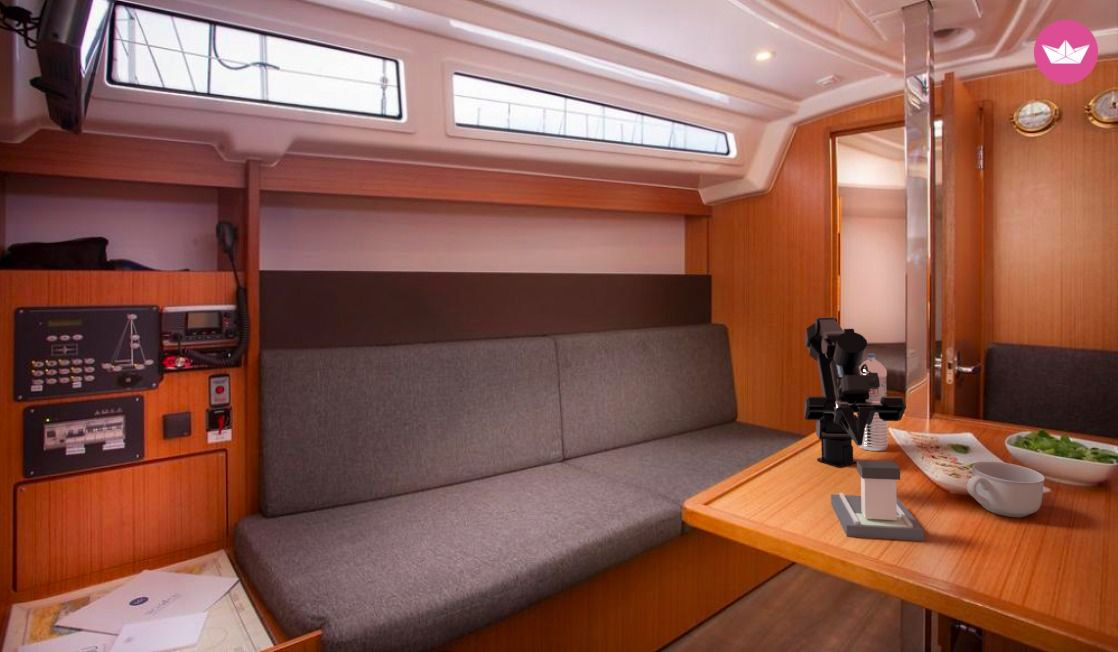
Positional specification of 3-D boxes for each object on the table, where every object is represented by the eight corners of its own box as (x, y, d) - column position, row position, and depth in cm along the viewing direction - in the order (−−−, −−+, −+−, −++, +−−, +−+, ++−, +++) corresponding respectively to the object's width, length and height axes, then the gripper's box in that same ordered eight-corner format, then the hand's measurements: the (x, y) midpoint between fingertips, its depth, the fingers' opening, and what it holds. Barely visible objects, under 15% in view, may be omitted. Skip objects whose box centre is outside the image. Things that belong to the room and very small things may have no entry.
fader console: (831, 504, 115) (830, 491, 115) (897, 507, 112) (897, 494, 112) (846, 536, 101) (846, 522, 101) (923, 541, 98) (923, 526, 97)
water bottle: (852, 447, 152) (850, 354, 150) (869, 443, 155) (868, 351, 153) (876, 453, 146) (874, 356, 144) (893, 449, 148) (892, 353, 147)
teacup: (1011, 498, 113) (1011, 459, 113) (1060, 521, 102) (1061, 477, 102) (942, 503, 113) (942, 463, 112) (985, 526, 102) (985, 482, 101)
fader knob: (857, 510, 106) (856, 460, 105) (894, 512, 104) (893, 461, 103) (862, 519, 102) (862, 467, 101) (900, 521, 100) (900, 468, 99)
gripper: (804, 359, 122) (813, 423, 112) (903, 358, 117) (921, 425, 107) (800, 388, 130) (808, 450, 120) (892, 388, 125) (908, 453, 115)
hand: (859, 444), depth 116 cm, fingers closed
